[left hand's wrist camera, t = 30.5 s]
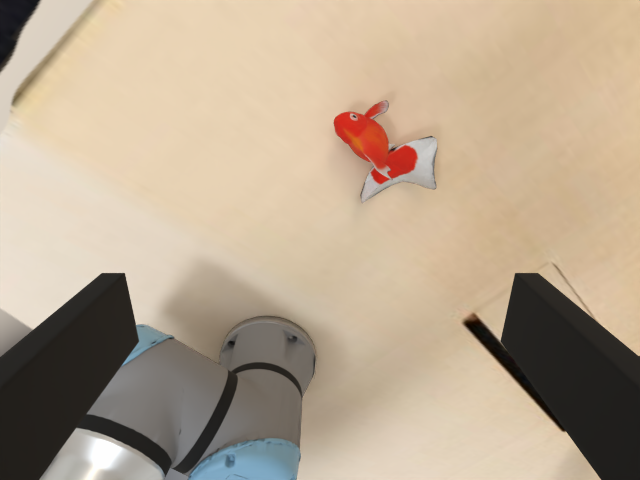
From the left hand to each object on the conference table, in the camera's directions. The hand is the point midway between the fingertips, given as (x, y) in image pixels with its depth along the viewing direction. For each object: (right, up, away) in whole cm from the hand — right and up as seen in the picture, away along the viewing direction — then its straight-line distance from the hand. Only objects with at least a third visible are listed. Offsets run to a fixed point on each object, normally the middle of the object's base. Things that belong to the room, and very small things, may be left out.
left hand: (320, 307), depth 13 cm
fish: (+8, +14, +36) cm, 40 cm away
